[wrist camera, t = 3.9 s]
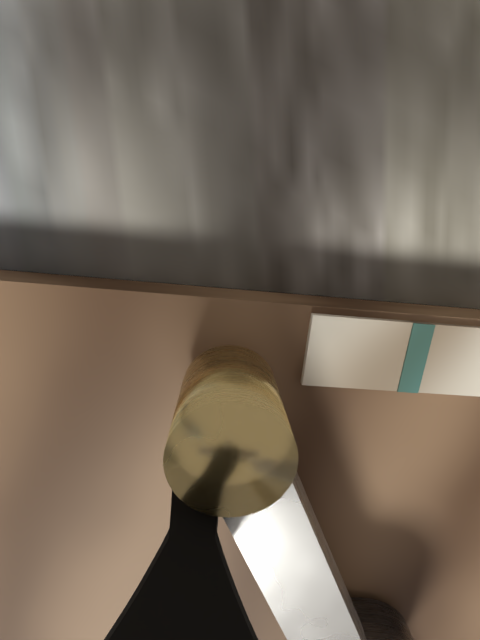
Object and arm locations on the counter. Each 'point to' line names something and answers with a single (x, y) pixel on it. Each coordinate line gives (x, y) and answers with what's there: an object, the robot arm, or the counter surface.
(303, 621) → the crank handle
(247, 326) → the level stand
